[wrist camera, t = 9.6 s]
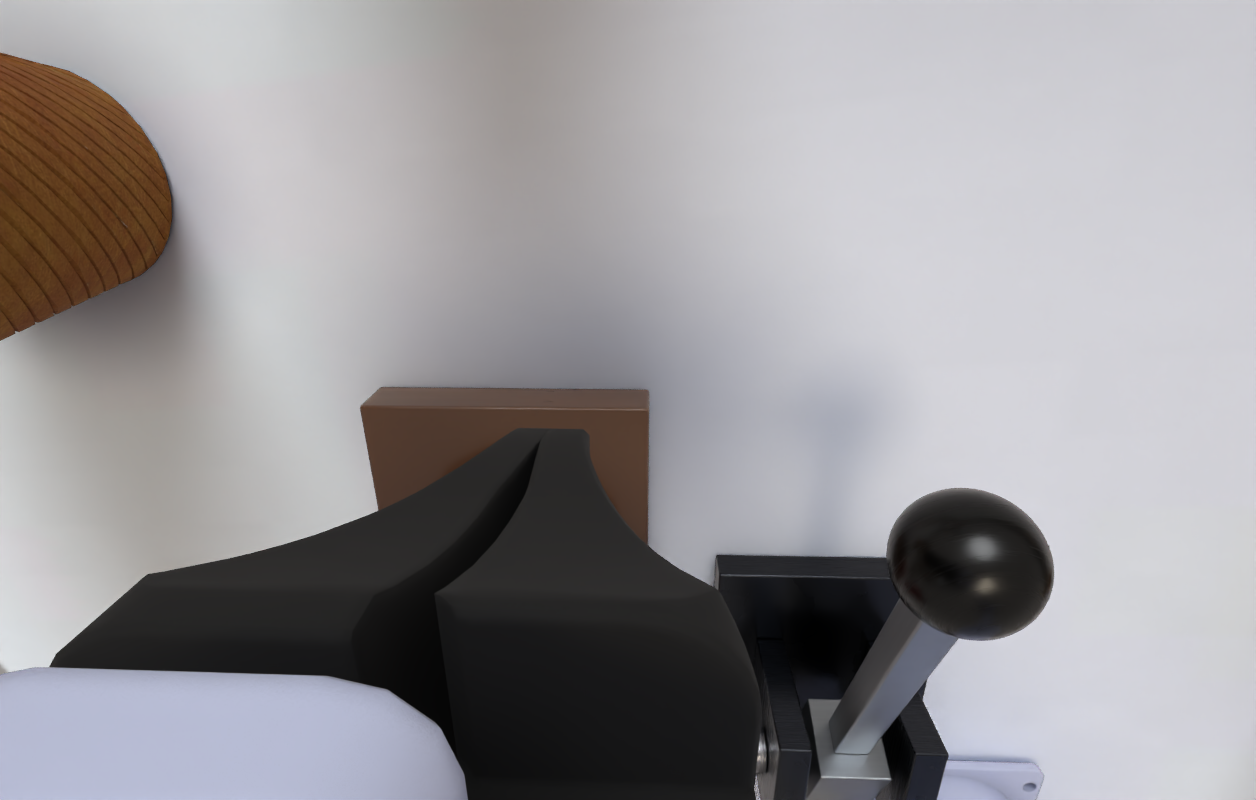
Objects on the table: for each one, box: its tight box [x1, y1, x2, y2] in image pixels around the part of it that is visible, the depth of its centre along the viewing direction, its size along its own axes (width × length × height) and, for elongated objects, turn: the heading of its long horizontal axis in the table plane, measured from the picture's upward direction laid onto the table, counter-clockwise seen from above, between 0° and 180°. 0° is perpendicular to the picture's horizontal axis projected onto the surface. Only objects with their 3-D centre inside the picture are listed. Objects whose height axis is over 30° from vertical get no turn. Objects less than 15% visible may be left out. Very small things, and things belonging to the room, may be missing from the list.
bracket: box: [714, 555, 948, 800], centre depth 22 cm, size 10×8×6 cm
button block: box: [360, 387, 649, 545], centre depth 22 cm, size 11×9×4 cm
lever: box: [802, 488, 1054, 800], centre depth 17 cm, size 15×3×3 cm, turn 1°
